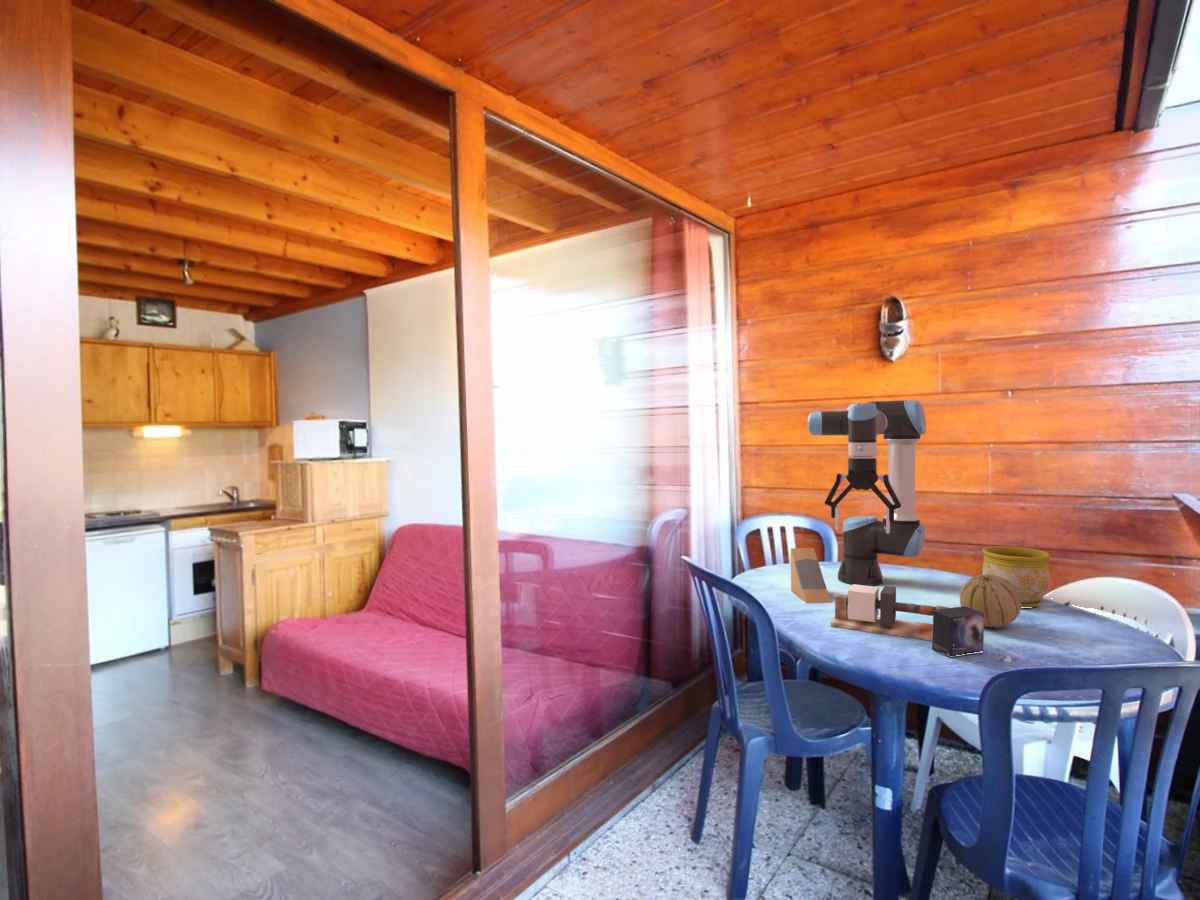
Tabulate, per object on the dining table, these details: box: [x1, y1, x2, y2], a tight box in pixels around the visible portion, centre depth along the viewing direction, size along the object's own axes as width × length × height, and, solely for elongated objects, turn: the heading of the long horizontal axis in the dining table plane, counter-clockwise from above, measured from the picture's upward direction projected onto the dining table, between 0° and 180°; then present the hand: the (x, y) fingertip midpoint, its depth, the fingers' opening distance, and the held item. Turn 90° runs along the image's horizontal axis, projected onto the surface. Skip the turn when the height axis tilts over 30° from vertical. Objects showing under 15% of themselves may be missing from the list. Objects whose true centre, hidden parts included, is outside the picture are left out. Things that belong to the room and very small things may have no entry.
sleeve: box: [847, 584, 880, 622], centre depth 185 cm, size 7×8×8 cm
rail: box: [830, 593, 950, 641], centre depth 181 cm, size 30×11×8 cm, turn 59°
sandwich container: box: [790, 547, 832, 604], centre depth 214 cm, size 9×15×15 cm, turn 2°
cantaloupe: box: [959, 574, 1022, 628], centre depth 182 cm, size 15×15×15 cm
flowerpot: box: [981, 545, 1051, 608], centre depth 203 cm, size 18×18×16 cm
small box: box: [931, 606, 985, 656], centre depth 163 cm, size 11×6×10 cm, turn 106°
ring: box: [879, 585, 897, 627], centre depth 181 cm, size 3×9×9 cm, turn 149°
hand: (862, 531), depth 185 cm, fingers open, 13 cm apart
